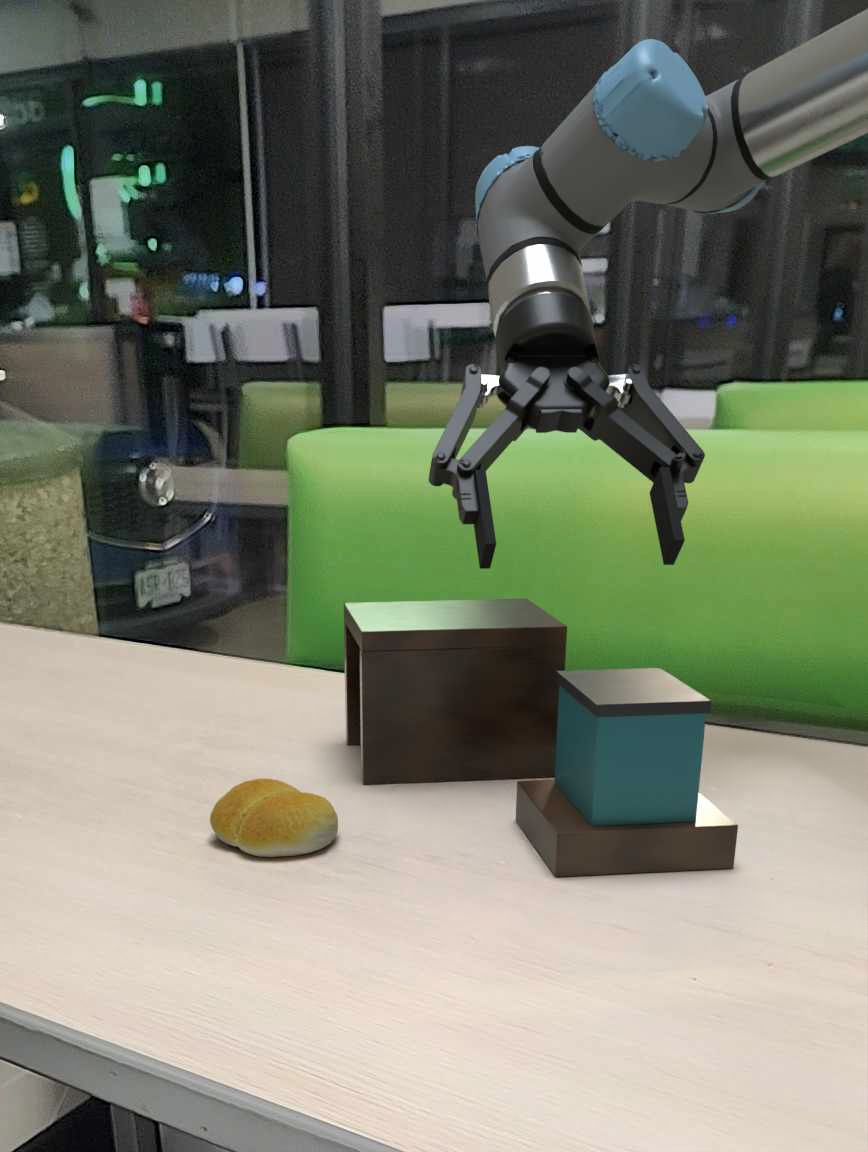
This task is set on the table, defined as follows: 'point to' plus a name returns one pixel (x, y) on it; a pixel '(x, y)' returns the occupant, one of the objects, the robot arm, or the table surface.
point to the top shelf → (452, 689)
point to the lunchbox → (629, 745)
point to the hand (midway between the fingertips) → (581, 555)
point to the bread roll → (273, 819)
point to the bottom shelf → (620, 837)
